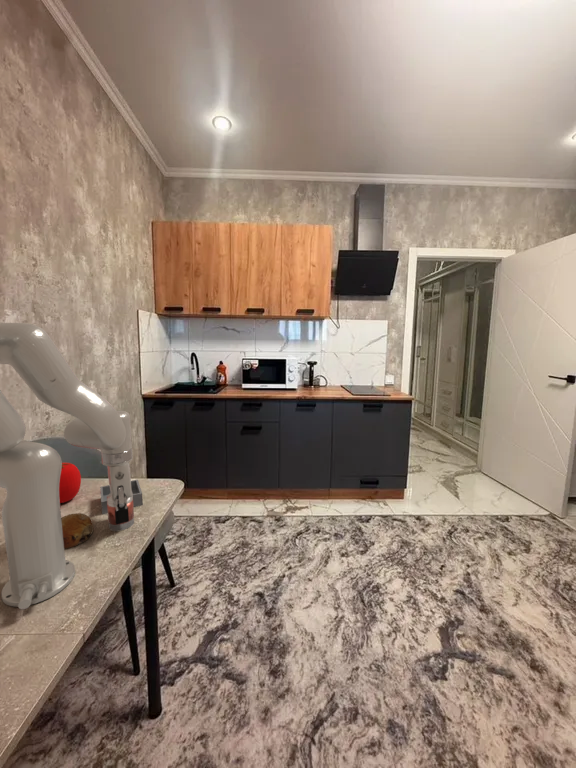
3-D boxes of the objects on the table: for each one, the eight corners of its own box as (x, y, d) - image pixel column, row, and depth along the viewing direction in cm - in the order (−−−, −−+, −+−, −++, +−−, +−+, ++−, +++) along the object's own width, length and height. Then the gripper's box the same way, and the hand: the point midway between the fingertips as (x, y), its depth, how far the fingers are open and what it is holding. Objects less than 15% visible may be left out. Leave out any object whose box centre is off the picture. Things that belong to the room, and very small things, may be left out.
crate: (142, 505, 104) (142, 493, 103) (102, 514, 98) (101, 502, 97) (138, 490, 113) (137, 479, 113) (101, 498, 107) (100, 486, 107)
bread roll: (89, 536, 93) (83, 508, 94) (101, 536, 87) (94, 506, 88) (47, 553, 86) (41, 523, 87) (56, 554, 79) (49, 521, 80)
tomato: (67, 510, 100) (63, 471, 98) (29, 509, 100) (24, 470, 98) (91, 491, 112) (88, 455, 110) (57, 490, 112) (54, 455, 110)
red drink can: (135, 526, 92) (133, 497, 91) (109, 533, 89) (107, 502, 87) (133, 515, 98) (131, 487, 96) (108, 521, 94) (106, 492, 93)
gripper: (136, 464, 85) (139, 527, 87) (129, 444, 99) (132, 499, 102) (102, 469, 81) (107, 536, 84) (100, 448, 95) (104, 505, 98)
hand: (121, 515), depth 93 cm, fingers closed on red drink can, 6 cm apart
